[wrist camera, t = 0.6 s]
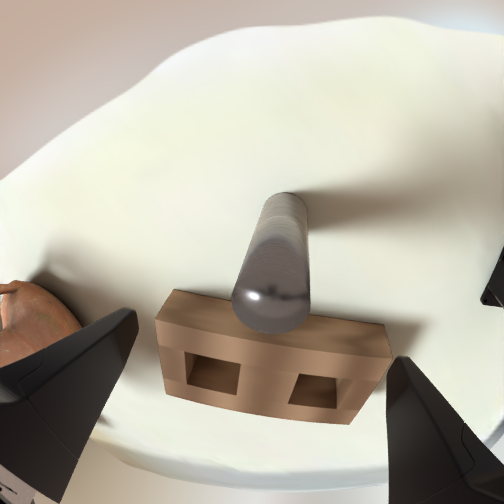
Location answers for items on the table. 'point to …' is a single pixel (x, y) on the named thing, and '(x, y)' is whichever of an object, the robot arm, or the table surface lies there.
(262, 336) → the hole block
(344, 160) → the table surface
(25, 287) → the ceramic jug
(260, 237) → the peg
